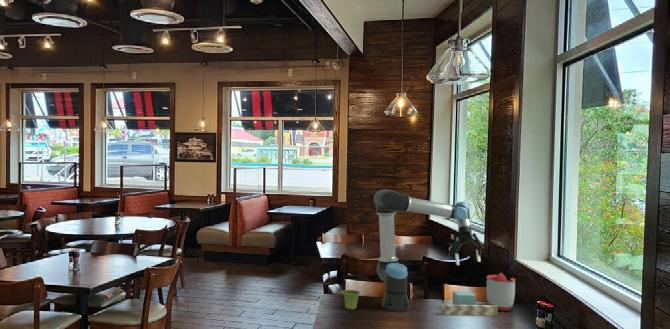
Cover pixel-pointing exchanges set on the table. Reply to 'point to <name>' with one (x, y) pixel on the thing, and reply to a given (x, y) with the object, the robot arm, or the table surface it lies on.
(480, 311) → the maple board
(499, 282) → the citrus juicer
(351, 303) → the plant pot
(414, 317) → the table surface
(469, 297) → the teal block
